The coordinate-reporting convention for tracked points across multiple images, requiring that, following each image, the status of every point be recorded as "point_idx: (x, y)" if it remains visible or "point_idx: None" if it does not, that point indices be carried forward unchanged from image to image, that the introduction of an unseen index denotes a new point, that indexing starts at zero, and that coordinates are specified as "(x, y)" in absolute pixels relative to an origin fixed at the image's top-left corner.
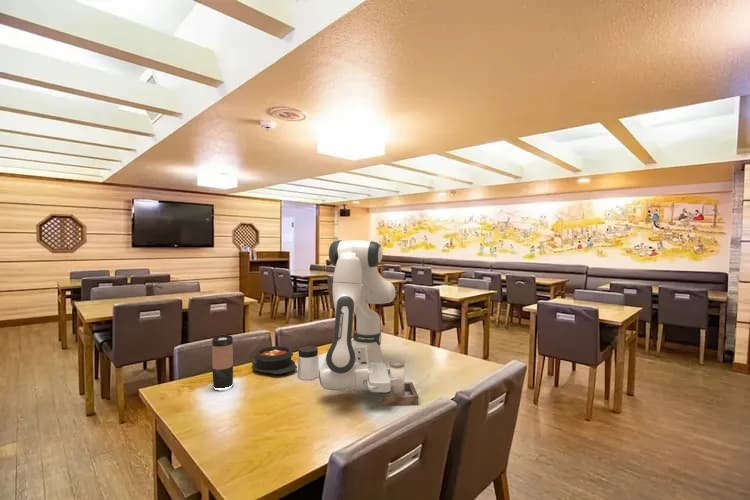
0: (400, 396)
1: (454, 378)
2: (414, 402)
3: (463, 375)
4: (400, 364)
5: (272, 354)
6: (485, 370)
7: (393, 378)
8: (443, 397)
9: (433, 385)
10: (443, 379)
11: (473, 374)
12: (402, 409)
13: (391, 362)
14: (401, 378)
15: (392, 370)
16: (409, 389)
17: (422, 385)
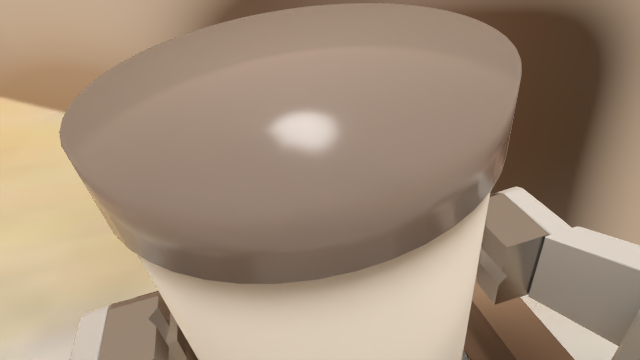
0: (539, 335)
1: (41, 166)
2: None
3: (19, 147)
4: (406, 13)
5: None
6: (3, 108)
7: (463, 347)
8: None
9: (108, 228)
10: (32, 200)
11: (26, 126)
12: (601, 348)
13: (281, 152)
14: (491, 195)
15: (475, 252)
16: None
17: (89, 284)
